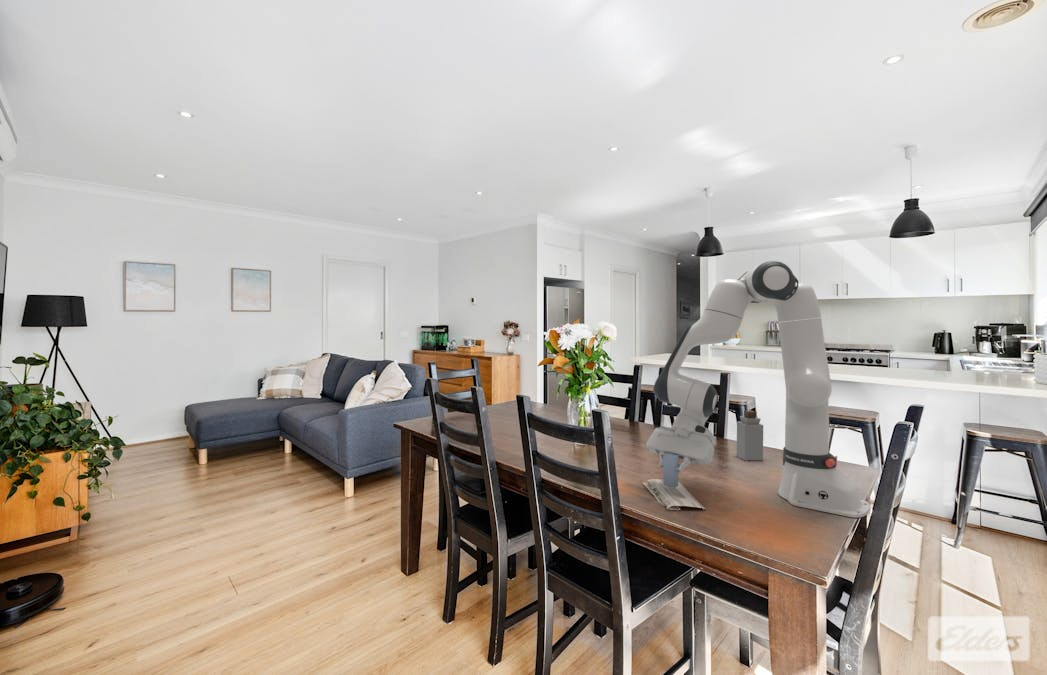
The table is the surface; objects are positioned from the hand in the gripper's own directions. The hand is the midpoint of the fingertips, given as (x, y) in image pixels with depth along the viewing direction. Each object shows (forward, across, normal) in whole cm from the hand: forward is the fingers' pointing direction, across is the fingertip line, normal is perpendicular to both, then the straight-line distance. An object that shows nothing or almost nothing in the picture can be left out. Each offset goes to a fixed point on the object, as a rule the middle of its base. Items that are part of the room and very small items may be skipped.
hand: (669, 468), depth 138 cm
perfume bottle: (-34, +1, +46) cm, 57 cm away
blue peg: (+3, 0, +4) cm, 5 cm away
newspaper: (+6, 0, +7) cm, 9 cm away
